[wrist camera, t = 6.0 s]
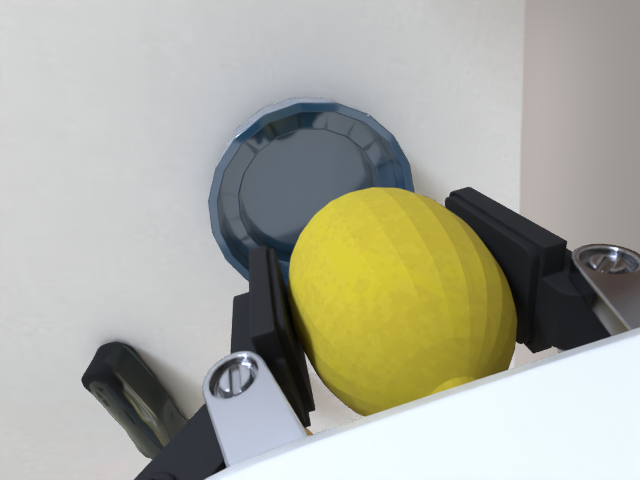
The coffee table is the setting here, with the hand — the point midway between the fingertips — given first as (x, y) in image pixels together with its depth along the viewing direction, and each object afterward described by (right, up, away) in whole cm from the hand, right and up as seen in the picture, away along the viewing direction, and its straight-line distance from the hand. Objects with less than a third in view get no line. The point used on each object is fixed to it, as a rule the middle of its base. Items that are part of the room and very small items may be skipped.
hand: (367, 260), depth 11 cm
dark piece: (-19, -15, +25) cm, 34 cm away
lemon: (0, +1, +2) cm, 2 cm away
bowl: (-3, +5, +19) cm, 19 cm away
